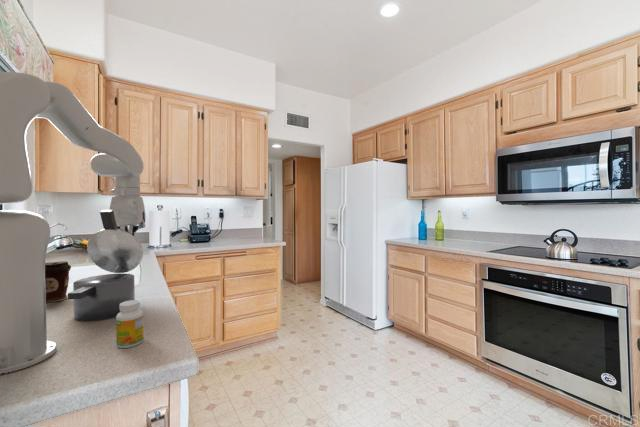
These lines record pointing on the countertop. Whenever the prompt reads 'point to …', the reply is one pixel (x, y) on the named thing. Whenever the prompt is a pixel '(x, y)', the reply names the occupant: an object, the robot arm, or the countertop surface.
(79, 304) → the cooker pot
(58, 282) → the coffee cup
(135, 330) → the supplement bottle
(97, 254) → the cooker lid
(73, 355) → the countertop surface
